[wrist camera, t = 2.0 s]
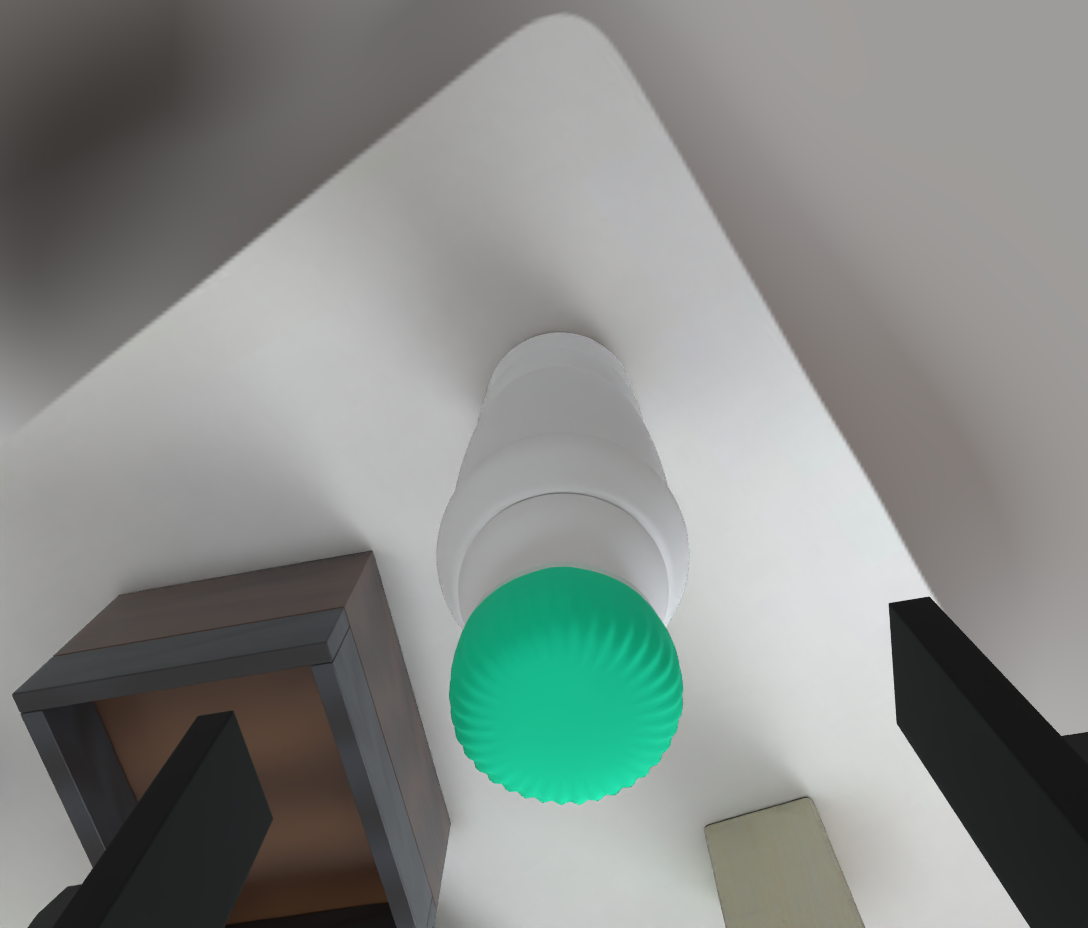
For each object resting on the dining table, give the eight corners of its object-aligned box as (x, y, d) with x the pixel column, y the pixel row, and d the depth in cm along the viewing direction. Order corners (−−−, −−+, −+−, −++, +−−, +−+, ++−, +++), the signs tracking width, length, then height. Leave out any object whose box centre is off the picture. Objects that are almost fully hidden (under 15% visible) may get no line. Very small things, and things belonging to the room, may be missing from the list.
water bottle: (581, 495, 41) (617, 918, 17) (460, 423, 40) (318, 770, 16) (660, 379, 39) (826, 675, 15) (535, 300, 38) (502, 486, 14)
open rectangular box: (118, 594, 43) (10, 694, 34) (372, 550, 42) (326, 641, 33) (224, 857, 48) (154, 999, 40) (451, 824, 47) (428, 962, 39)
